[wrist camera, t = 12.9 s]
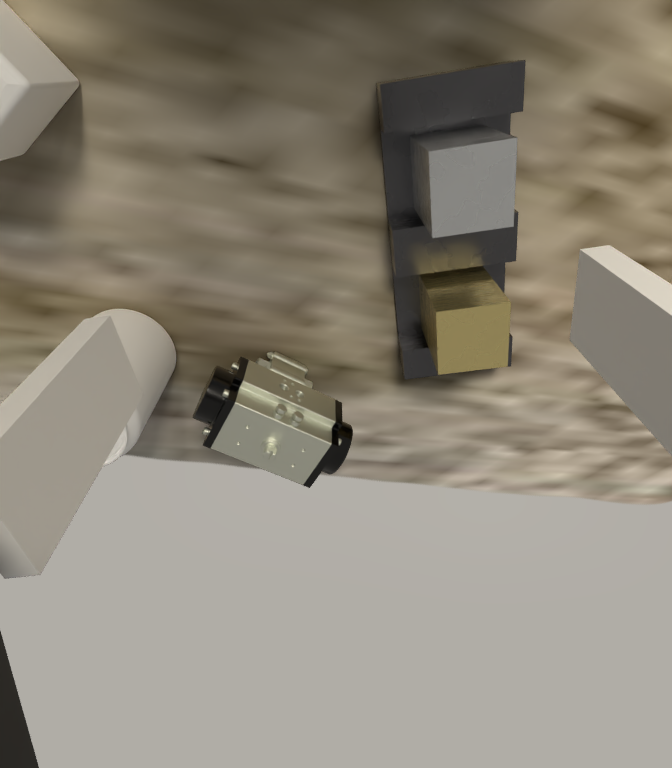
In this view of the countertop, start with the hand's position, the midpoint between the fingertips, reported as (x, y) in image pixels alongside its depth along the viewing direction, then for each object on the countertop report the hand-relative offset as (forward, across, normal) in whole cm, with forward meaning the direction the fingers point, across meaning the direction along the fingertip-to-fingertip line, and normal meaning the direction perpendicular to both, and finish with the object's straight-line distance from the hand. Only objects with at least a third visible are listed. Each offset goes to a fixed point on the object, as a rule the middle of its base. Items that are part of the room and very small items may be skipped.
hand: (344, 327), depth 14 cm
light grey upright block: (+26, +8, -1) cm, 28 cm away
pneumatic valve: (+27, -7, -16) cm, 32 cm away
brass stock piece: (+26, +8, -11) cm, 30 cm away
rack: (+27, +8, -6) cm, 29 cm away
